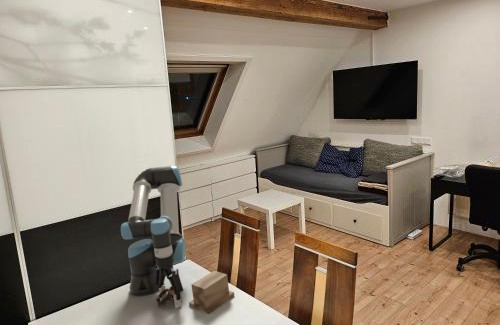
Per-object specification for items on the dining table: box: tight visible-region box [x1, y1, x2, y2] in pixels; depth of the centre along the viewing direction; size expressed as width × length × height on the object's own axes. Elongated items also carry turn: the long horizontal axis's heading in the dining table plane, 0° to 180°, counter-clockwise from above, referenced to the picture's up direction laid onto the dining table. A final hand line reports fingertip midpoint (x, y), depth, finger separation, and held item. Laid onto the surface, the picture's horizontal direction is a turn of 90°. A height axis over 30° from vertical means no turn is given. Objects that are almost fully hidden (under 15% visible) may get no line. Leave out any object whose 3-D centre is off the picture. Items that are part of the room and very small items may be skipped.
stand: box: [188, 270, 235, 315], centre depth 152 cm, size 12×16×10 cm
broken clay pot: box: [155, 286, 174, 308], centre depth 154 cm, size 12×10×8 cm
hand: (171, 303), depth 153 cm, fingers open, 9 cm apart
